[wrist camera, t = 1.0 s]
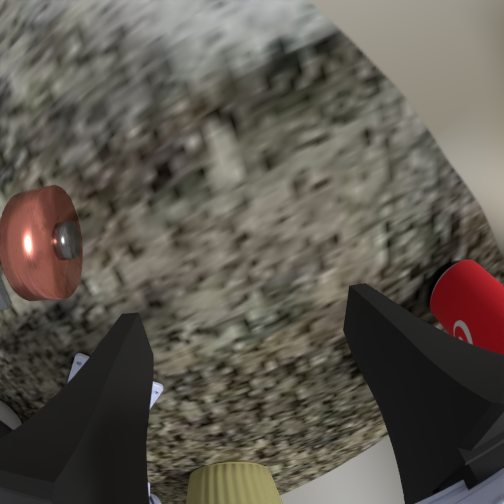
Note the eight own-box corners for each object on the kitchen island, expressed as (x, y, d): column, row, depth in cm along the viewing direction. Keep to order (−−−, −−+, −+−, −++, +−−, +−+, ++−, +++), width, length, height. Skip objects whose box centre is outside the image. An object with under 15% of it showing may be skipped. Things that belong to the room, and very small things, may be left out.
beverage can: (421, 321, 27) (490, 416, 16) (429, 265, 24) (521, 363, 13) (468, 301, 27) (539, 380, 17) (480, 248, 24) (569, 326, 14)
